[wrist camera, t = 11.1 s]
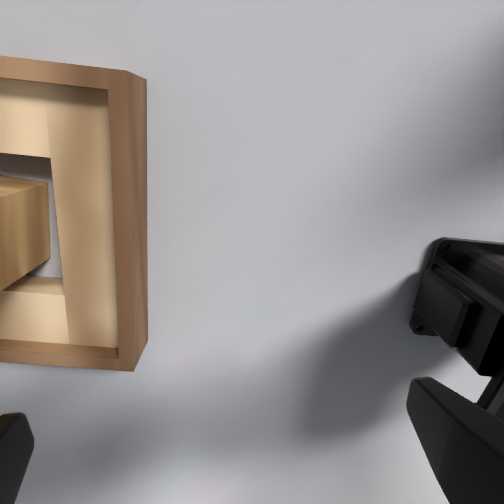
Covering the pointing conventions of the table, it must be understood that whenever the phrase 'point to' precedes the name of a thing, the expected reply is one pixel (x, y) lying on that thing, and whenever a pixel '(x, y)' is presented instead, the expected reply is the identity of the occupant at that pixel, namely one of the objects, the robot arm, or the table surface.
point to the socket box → (81, 214)
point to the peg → (22, 227)
